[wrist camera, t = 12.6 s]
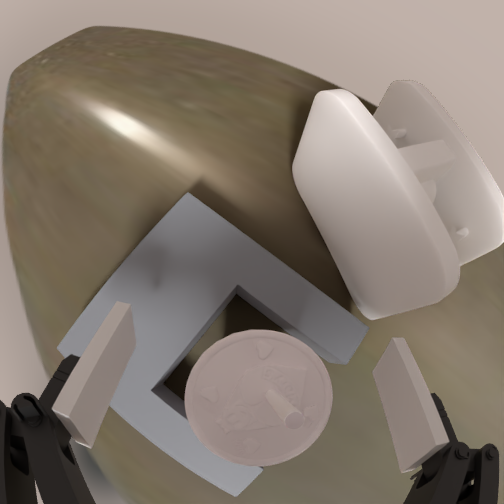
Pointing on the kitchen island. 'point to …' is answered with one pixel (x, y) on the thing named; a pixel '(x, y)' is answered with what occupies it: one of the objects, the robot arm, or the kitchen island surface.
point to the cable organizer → (396, 196)
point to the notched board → (201, 322)
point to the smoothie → (258, 397)
